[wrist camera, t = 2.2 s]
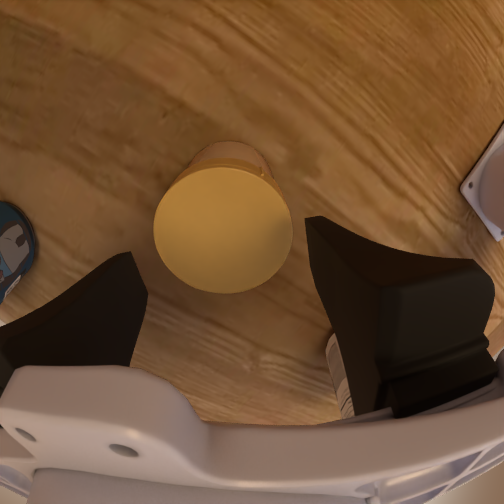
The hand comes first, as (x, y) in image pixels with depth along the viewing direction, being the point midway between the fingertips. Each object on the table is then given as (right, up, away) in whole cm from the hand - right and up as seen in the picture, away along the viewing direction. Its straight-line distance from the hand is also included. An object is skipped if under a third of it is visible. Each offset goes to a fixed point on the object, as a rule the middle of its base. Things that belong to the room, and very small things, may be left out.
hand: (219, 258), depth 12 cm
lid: (0, +1, +2) cm, 2 cm away
